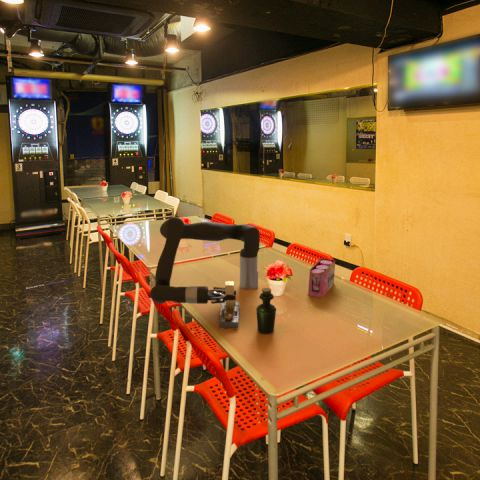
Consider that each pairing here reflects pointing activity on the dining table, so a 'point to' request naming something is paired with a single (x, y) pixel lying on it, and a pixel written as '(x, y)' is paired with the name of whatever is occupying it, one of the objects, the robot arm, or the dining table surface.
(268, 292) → the potion bottle
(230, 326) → the hand plane
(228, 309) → the wood grain block
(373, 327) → the dining table surface
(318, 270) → the gum box
